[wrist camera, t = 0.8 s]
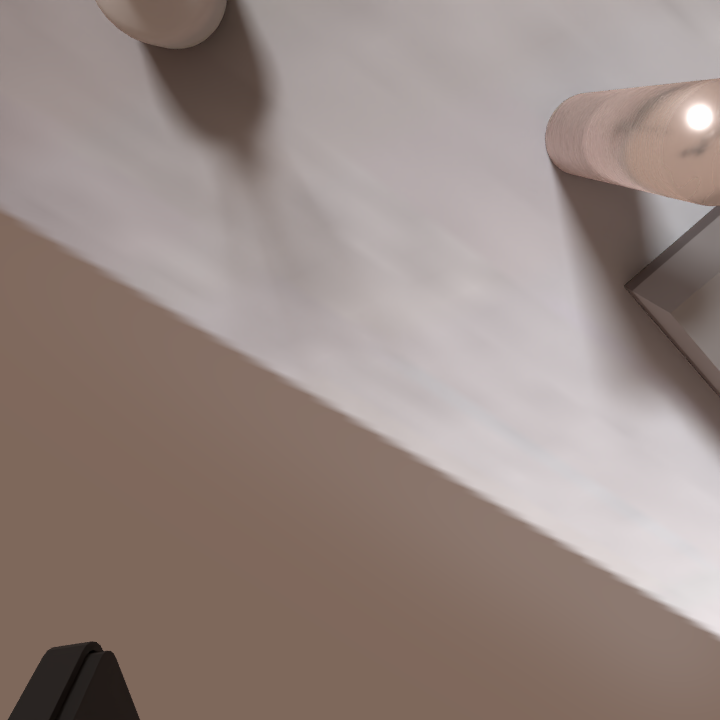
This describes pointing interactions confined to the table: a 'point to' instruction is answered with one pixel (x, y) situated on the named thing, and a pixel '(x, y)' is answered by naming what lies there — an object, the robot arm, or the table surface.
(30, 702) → the robot arm
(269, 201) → the table surface
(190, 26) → the reed diffuser
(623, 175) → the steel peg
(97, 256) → the table surface
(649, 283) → the hole block
